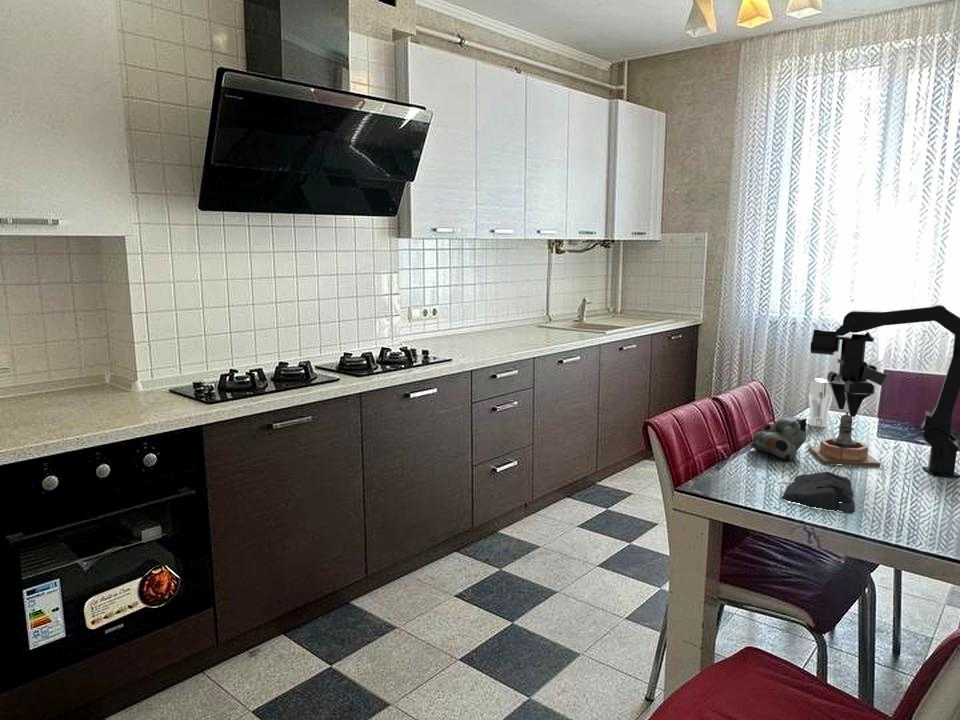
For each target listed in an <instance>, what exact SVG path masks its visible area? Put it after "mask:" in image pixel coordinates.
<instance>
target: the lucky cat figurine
mask: <svg viewBox="0 0 960 720" xmlns="http://www.w3.org/2000/svg"><path fill="white" fill-rule="evenodd" d="M807 420H808V419H807V418H803V419H802V418H799V417H796V416H792V415H791V416H783V418H780V419H778V420H777V421H776V423H775V425H774V427H773V428H772V425H771V423H769V422H766V423H765V424H764V425H763V426H764V429H763V430H760V431H758V432H757V433H755V434H754V436H753V438H752V442H750V443H749V447H751V448H753V449H754V450H755V451H756V450H757V451H761V450H762V451H763V452H767V453H768V454H772V455H773V456H776V457H779V458H780V459H783V460H784V461H786V462H788V463H789V461H791V462H793V461H795V459H796V457H797V454H798V450H799V448H801V446H802V445H803V444H804V443H805V442H807V438H808V437H807V435H808V429H807V426H808V422H807Z"/></svg>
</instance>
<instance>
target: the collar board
mask: <svg viewBox="0 0 960 720" xmlns="http://www.w3.org/2000/svg"><path fill="white" fill-rule="evenodd" d="M836 438H837V437H836ZM836 438H835V437H834V438H833V437H828V438H823V439H821V440H820V441H819V442H820V443H819V445H818V446H817V445H815V446H814V445H808V451H809V452H810V453H811V454H812V453H813V454H814V455H815V456H816V457H817V458H816V457H815V456H814V455H813V454H812V455H813V456H814V457H815V458H816V459H818V461H820V462H821V463H822V462H823V463H824V464H823V463H822V464H823V465H825V464H842V465H841V466H843V465H852V466H851V467H861V468H881V462H879V461H878V460H877V459H875V458H874V457H873V456H871V455H870V454H869V446H868V445H867V444H865V443H864V442H862V441H857V440H854V441H855V442H856V444H855V447H854V448H841V447H837V446H834V444H833V443H834V442H833V441H832V440H833V439H836Z"/></svg>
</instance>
